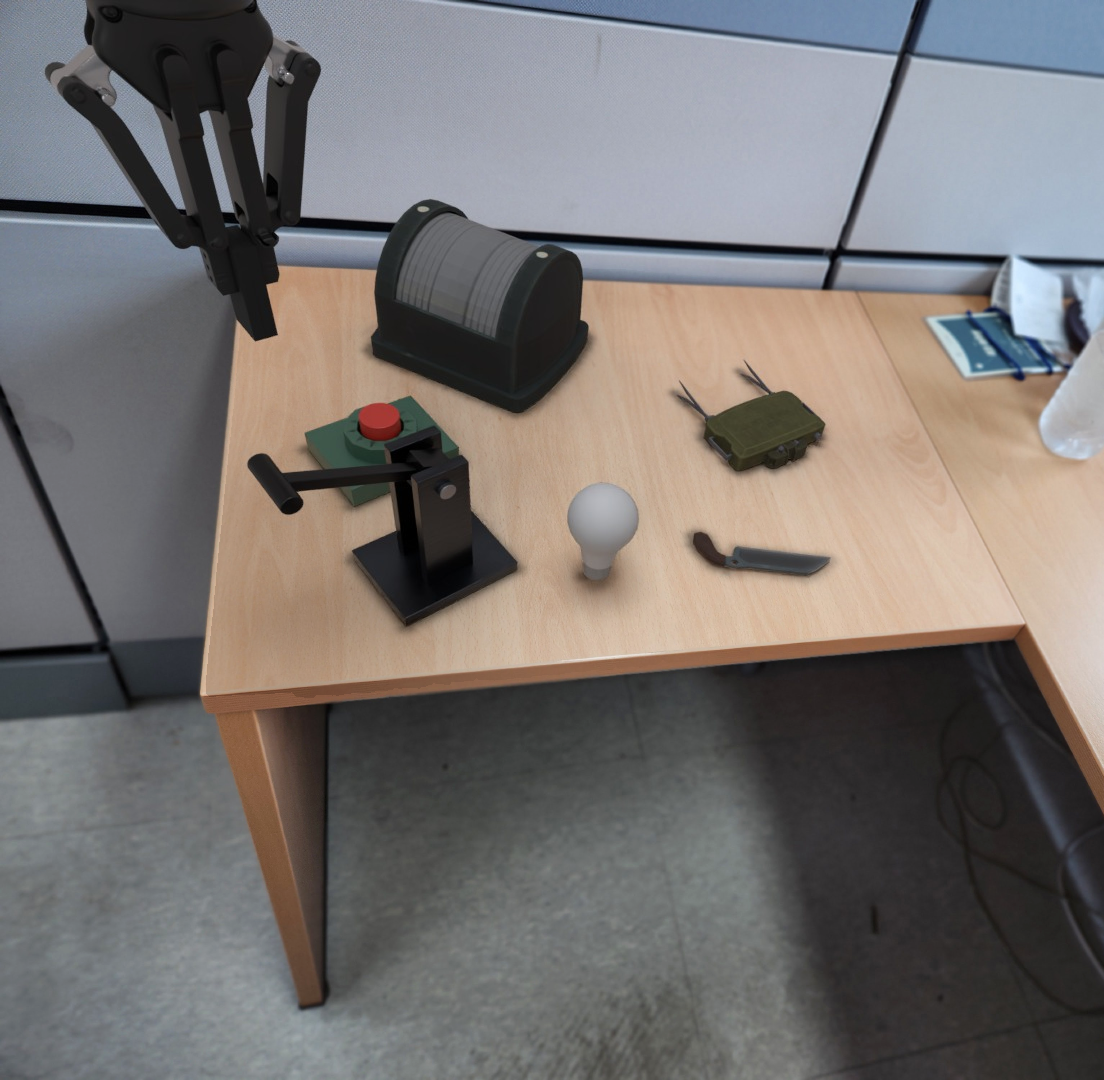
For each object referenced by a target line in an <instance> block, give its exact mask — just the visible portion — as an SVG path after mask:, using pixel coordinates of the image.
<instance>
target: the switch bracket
mask: <svg viewBox="0 0 1104 1080" xmlns="http://www.w3.org/2000/svg"><path fill="white" fill-rule="evenodd" d="M436 448H440V449H441V450H442V437H441V431H440V430H439V429H438V428H437V427H436V426H435V425H433V426H431V427H428V428H425V429H423V430H420V431H418V432H415V433H412V434H410V435H407V436H404V437H402V438H399V439H396V440H394V441H391V442H389V443H386V444H384V450H385V457H386V464H393V463H405V462H406V459H407V456H408V453H409V450H422V449H436ZM469 463H470V462H469V461H468V460H467V458H466V457H465V456H464V455H463V454H459V456H457V457H455V458H452V459H450V460H447V461H445V462H442V463H440V464H438V465H435V466H433V467H430V468H428V469H425V470H423V471H420V472H418V473H416V474H413V475H411V482H412V486H411V485H410V484H409V483H408V482H407V481H397V482H389V485H390V492H389V493H390V497H391V505H392V506H391V507H392V513H393V519H394V527H395V530H394V531H392V532H390V533H387V534H385V535H383V536H380V537H379V538H376V539H373V540H371V541H369V542H367V543H364V544H363V545H360V546H358V547H356V548H353V549H352V550H351V554H352V558H353V560H354V562H355V563H356V564H357V565H358V567H359V568H360V569H361V570H362V572H363V573H364V574H365V576H366V577H367V578H368V580H369V581H370V582H371V583H372V584H373V586H374V587H375V588H376V590H377V591H378V593H379V594H380V595H381V596H382V598H383V599H384V600H385V601H386V603H387V604H388V606H390V608H391V609H392V611H393V612H394V613H395V614H396V616H397V617H398V618H399V619H400V620H401V622H402V624H404V626H405V627H409V626H411V625H413V624H414V623H417V622H419V621H420V620H423V619H424V618H426V617H428V616H430V615H432V614H434V613H436V612H438V611H440V610H442V609H445V608H446V607H448V606H450V605H452V604H454V603H456V602H457V601H460V600H462V599H463V598H465V597H468V596H469V595H471V594H473V593H475V592H477V591H479V590H481V589H483V588H484V587H486V586H489V585H491V584H493V583H495V582H496V581H498V580H500V579H502V578H505V577H506V576H508V575H509V574H512V573H514V572H516V571H517V570H518V561H517V560H516V558H515V557H514V556H513V555H512V554H511V553H510V552H509V551H508V550H507V549H506V547H505V546H504V545H503V544H502V543H501V542H500V541H499V540H498V538H497V537H496V536H495V535H494V534H493V533H492V531H490V530H489V528H488V527H487V526H486V525H485V524H484V523H483V522H482V521H481V519H480V518H479V517H478V516H477V514H475V513H474V512H473V510H472V508H471V507H472V506H471V504H472V503H471V486H470V485H471V484H470V483H471V482H470V464H469Z"/></svg>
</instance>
